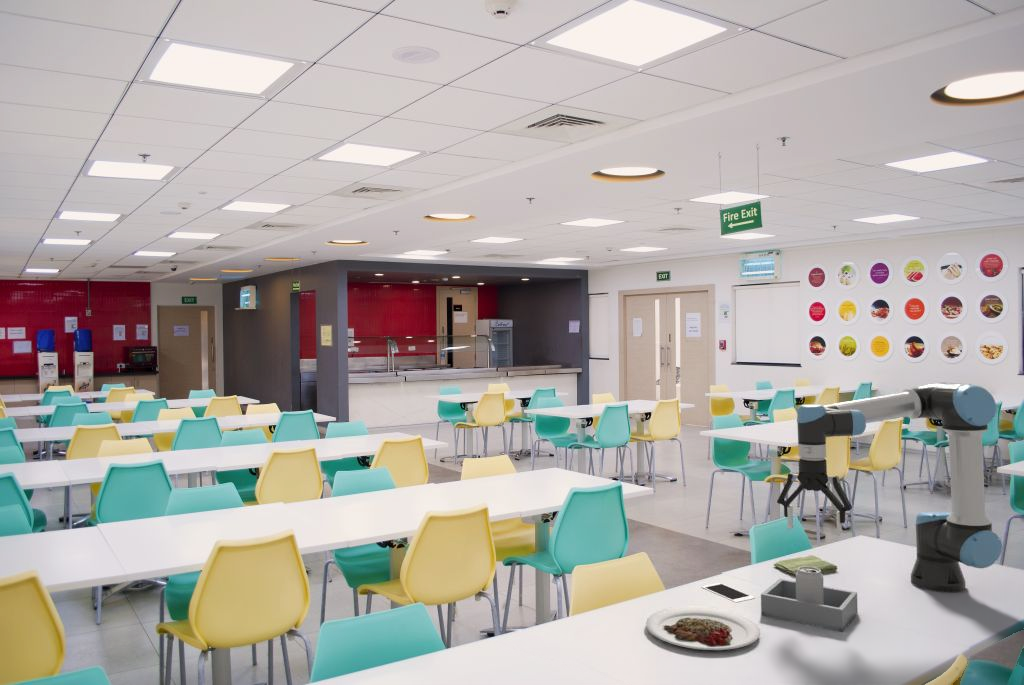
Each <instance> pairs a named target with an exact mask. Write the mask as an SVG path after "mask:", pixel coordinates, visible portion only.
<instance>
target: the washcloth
mask: <svg viewBox="0 0 1024 685" xmlns="http://www.w3.org/2000/svg"><path fill="white" fill-rule="evenodd" d="M773 566H774V567H775V568H777V569H780V570H782V571H784V572H786V573H789V574H792V575H795V576H796V572H797V571H798V568H799V567H803V566H808V567H815V568H818V569H820V570H821V572H820V573H821V574H822V575H824V574H830V573H831V574H832V573H835V572H836V571H837V570H838V565H836V564H834V563H831V562H829V561H826V560H822V558H820V557H818V556H816V555H807V556H799V557H795V558H789V559H781V560H778V561H776V562H775V563H773Z"/></svg>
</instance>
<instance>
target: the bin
mask: <svg viewBox="0 0 1024 685" xmlns="http://www.w3.org/2000/svg"><path fill="white" fill-rule="evenodd" d="M823 587H824V605H822V604H817V603H811V602H806V601H801V600H796V580H795V581H794V580H790V579H789V580H788V579H785V578H784V579H783V578H779V579H777V580H776V581H775V582H774V583H772V585H770V586H768V588H767V589H765V590H764V591H763V592H762V593H761V594H760V611H761V612H760V615H761V616H763V617H768V618H773V619H779V620H781V621H782V620H783V621H788V622H793V623H798V624H802V625H807V626H810V627H811V626H812V627H817V628H820V629H825V628H826V630H830V631H834V632H840V633H844V631H845V630H846V629H847V628H848V626H849V625H850V624H849V623H851V622H852V621H853V620H854V619H855V617H856V616H857V615H858V592H856V591H852V590H846V589H842V588H841V589H840V588H835V587H830V586H824V585H823ZM856 614H857V615H856ZM855 615H856V616H855ZM852 619H853V620H852ZM851 620H852V621H851ZM848 624H849V625H848Z"/></svg>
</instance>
